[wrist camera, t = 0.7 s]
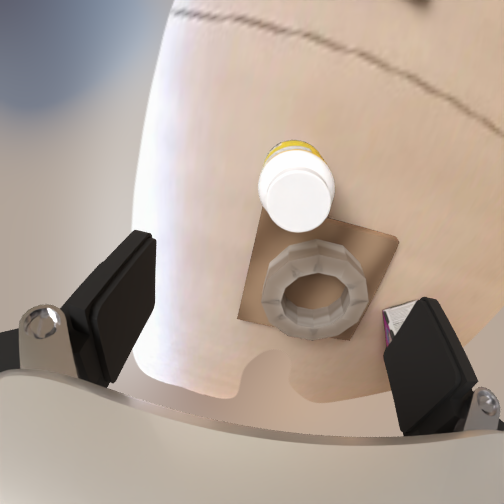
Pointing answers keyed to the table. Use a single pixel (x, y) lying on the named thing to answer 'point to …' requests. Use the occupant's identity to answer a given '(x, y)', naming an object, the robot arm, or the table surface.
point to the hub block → (314, 277)
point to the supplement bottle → (296, 186)
